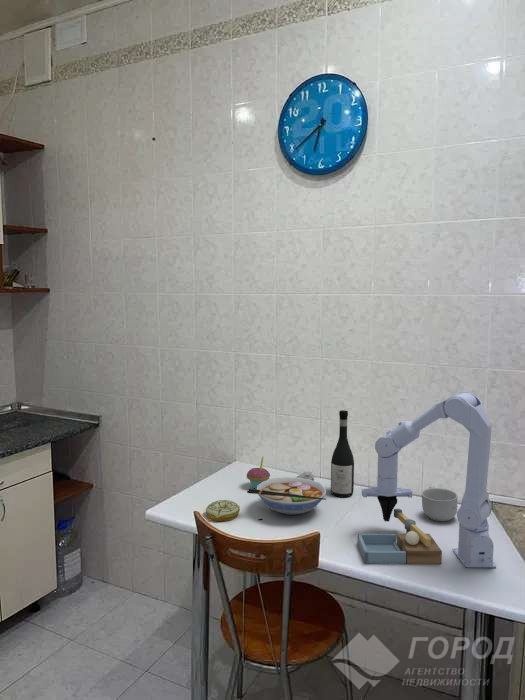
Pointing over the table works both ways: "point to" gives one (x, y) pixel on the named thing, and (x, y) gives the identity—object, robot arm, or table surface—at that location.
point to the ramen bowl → (290, 494)
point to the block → (419, 551)
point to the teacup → (439, 503)
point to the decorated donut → (222, 510)
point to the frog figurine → (306, 476)
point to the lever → (412, 526)
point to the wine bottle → (342, 462)
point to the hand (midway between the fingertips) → (386, 520)
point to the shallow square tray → (380, 549)
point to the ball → (412, 538)
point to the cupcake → (257, 475)
